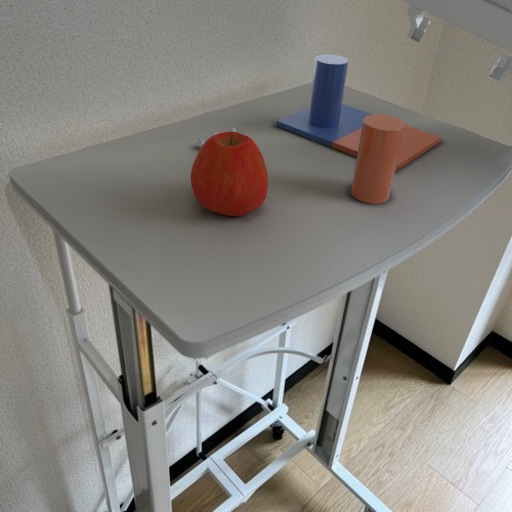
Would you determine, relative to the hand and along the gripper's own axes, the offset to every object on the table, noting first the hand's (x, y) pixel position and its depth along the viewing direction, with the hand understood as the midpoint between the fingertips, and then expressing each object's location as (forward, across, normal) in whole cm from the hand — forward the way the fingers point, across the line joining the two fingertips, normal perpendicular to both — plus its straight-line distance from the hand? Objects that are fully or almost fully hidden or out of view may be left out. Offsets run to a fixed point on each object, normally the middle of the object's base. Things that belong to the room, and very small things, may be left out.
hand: (455, 54), depth 58 cm
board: (+37, +6, -12) cm, 40 cm away
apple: (+24, +16, +17) cm, 34 cm away
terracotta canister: (+25, 0, +5) cm, 26 cm away
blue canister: (+38, +12, -12) cm, 42 cm away
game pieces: (+35, +25, +3) cm, 43 cm away
